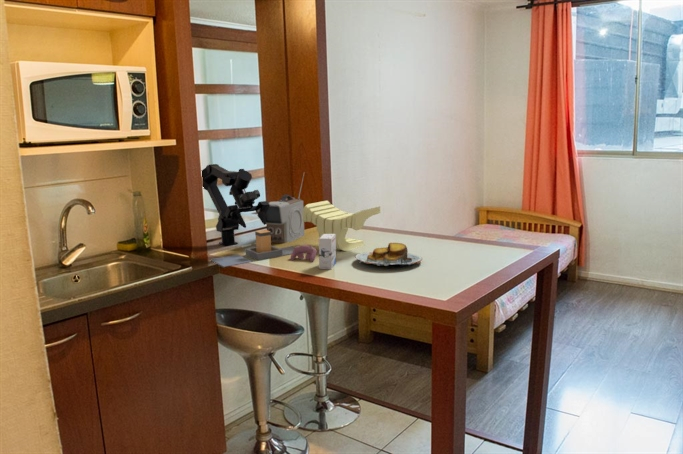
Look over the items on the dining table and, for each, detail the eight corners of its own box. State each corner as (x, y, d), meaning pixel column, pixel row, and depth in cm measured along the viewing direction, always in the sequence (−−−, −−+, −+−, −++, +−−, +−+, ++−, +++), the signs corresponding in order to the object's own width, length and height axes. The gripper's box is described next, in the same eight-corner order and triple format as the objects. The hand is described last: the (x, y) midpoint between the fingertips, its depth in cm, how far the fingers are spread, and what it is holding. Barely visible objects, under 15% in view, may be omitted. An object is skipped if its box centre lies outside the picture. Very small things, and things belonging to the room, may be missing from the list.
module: (256, 255, 234) (255, 231, 232) (266, 253, 236) (265, 229, 234) (261, 257, 230) (260, 233, 228) (271, 255, 232) (270, 231, 230)
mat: (209, 260, 228) (209, 259, 228) (237, 255, 235) (237, 254, 235) (224, 267, 217) (223, 266, 217) (252, 262, 224) (252, 261, 224)
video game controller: (316, 264, 226) (318, 246, 227) (312, 261, 221) (315, 244, 223) (293, 262, 229) (296, 245, 230) (289, 260, 224) (291, 242, 226)
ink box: (324, 263, 221) (323, 233, 218) (337, 263, 220) (336, 233, 217) (318, 269, 213) (317, 238, 210) (332, 269, 212) (331, 238, 209)
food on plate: (343, 261, 224) (343, 245, 223) (394, 252, 237) (394, 236, 236) (381, 276, 203) (381, 258, 202) (435, 265, 216) (435, 248, 214)
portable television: (260, 244, 255) (257, 177, 249) (285, 233, 276) (283, 171, 270) (284, 246, 250) (281, 177, 244) (308, 235, 271) (306, 171, 265)
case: (245, 256, 234) (245, 248, 234) (292, 248, 246) (291, 241, 246) (258, 261, 226) (257, 253, 225) (305, 252, 238) (305, 245, 237)
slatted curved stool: (303, 245, 251) (302, 205, 247) (328, 238, 263) (327, 200, 259) (356, 255, 231) (355, 212, 228) (380, 247, 243) (380, 206, 240)
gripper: (226, 186, 230) (241, 216, 224) (266, 181, 242) (281, 210, 235) (218, 203, 238) (232, 233, 231) (257, 198, 249) (272, 226, 243)
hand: (255, 225), depth 235 cm, fingers open, 9 cm apart
